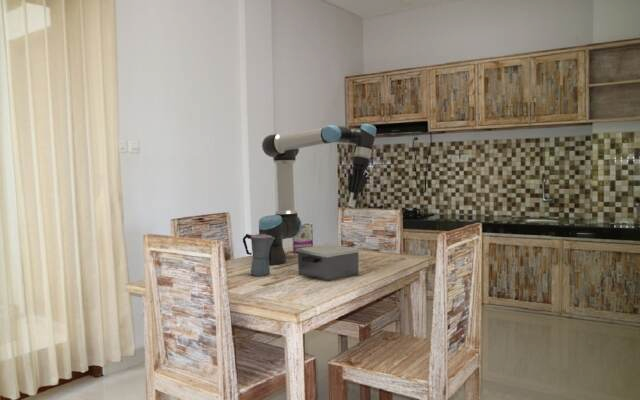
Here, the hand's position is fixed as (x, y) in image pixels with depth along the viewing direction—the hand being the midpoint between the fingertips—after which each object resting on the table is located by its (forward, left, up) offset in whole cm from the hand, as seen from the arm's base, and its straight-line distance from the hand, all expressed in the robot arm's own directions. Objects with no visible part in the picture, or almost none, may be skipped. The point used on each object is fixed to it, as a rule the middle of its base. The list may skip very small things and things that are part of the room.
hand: (351, 206), depth 229 cm
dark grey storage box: (+3, -18, -29) cm, 34 cm away
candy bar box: (-52, +11, -29) cm, 61 cm away
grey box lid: (+3, -17, -19) cm, 26 cm away
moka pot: (-19, -39, -29) cm, 52 cm away
